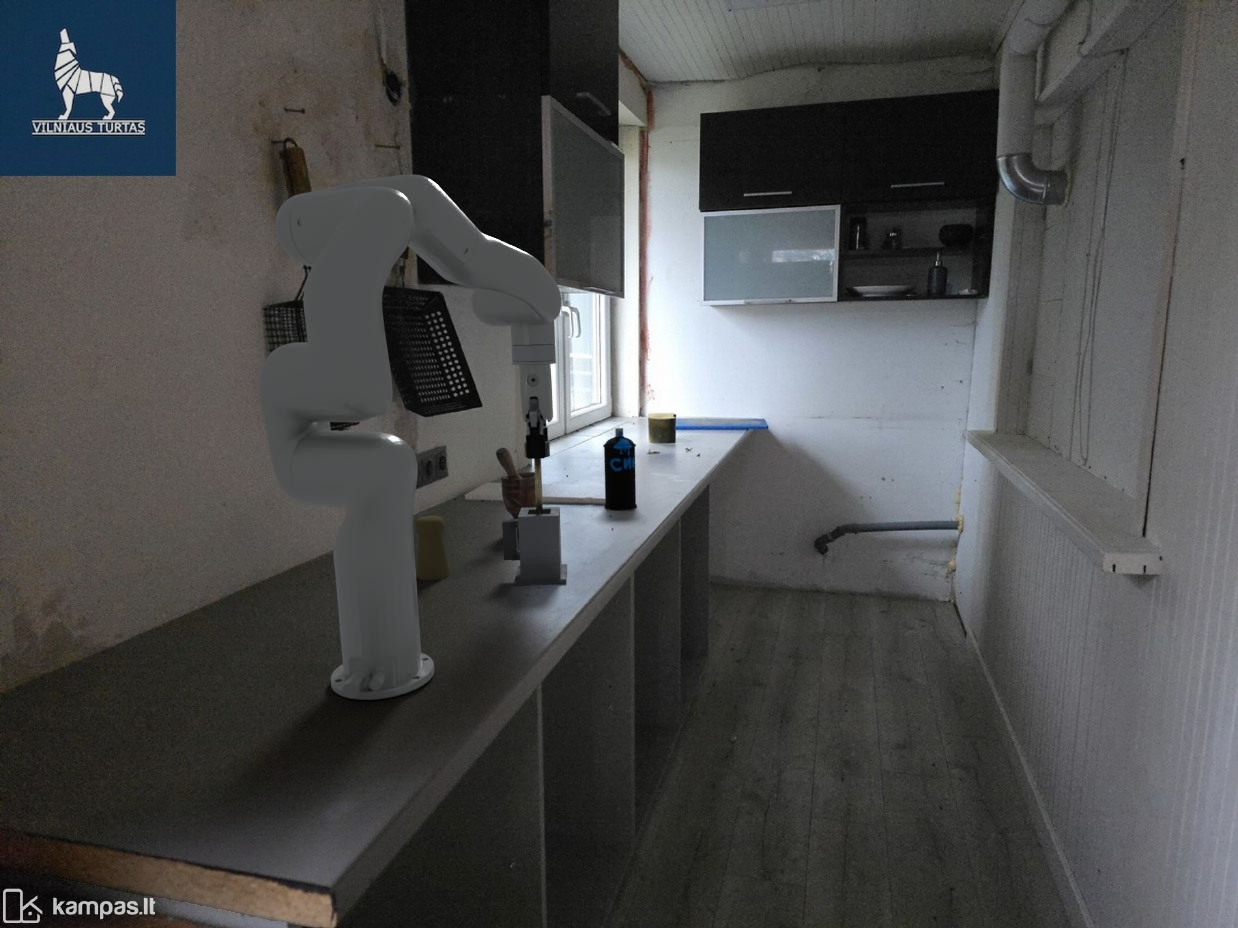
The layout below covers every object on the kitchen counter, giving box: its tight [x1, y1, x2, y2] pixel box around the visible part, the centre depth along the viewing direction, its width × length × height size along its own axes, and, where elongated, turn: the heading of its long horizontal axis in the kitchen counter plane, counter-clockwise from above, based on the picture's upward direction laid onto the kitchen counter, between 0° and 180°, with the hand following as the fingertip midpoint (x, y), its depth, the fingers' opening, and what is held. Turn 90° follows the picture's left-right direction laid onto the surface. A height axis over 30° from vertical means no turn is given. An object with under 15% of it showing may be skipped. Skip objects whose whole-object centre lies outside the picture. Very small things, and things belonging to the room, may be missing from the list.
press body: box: [501, 506, 568, 586], centre depth 136 cm, size 9×11×12 cm
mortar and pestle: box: [495, 447, 536, 538], centre depth 165 cm, size 12×9×20 cm
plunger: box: [523, 440, 551, 514], centre depth 134 cm, size 4×4×15 cm
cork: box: [415, 515, 451, 581], centre depth 138 cm, size 6×6×11 cm
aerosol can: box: [602, 427, 638, 511], centre depth 190 cm, size 8×8×20 cm
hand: (537, 453), depth 134 cm, fingers open, 9 cm apart
